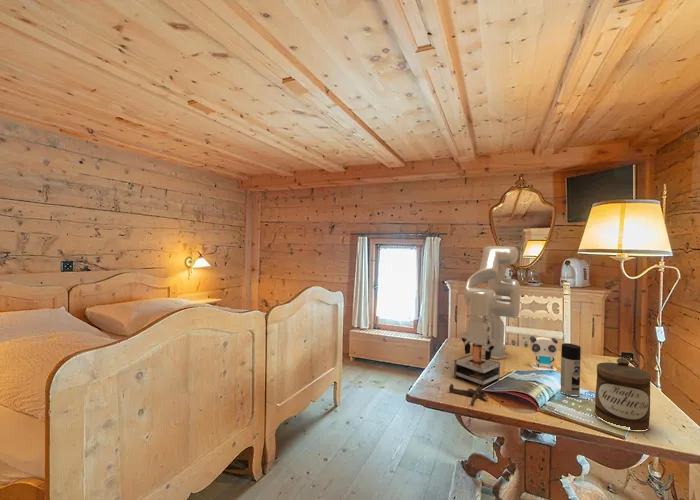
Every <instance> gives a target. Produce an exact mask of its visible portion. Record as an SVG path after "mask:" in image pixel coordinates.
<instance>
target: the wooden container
mask: <svg viewBox="0 0 700 500" xmlns="http://www.w3.org/2000/svg"><path fill="white" fill-rule="evenodd" d="M594 398H595V399H594V400H595V401H594V403H595V405H594V414H595V413H596V415H597V416H598V417H600V418H602V419H603V420H605V421H607V422H610V423H613V424H616V425H620V426H626V427H630V429H631V430H646V429H648V428H649V429H650V417H651V374H650V373H649V372H648V371H646V370H643V369H642V368H639V367H635V366H633V365H630V361H629V360H628V359H627V358H624V357H619V358H617V359H616V362H605V361H604V362H600V363H598V364H596V385H595V397H594ZM596 415H595V416H596Z"/></svg>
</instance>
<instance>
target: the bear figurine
mask: <svg viewBox="0 0 700 500" xmlns="http://www.w3.org/2000/svg"><path fill="white" fill-rule="evenodd" d="M448 389H449V393H450V394H457V395H465V396H468V397H472V400H470V404H471V405H473V404H474V403H475V401H476V399H477V398H478V397H479V398H480V400H484V401H485V400H488V399H489V398H488V396H489V395H488V394H487V393H486V391H485V390H484V389H483V390H482V388H481V384H477V386H476V388H475V389H473V388H471V387H470V388H468V389H459V388H454V384H453V383H451V384H450V385H449V388H448Z"/></svg>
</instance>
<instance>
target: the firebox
mask: <svg viewBox="0 0 700 500" xmlns="http://www.w3.org/2000/svg"><path fill="white" fill-rule="evenodd" d="M472 355H473V353H472V354H467V355H466V356H463V357H459V358H457V359H454V366H453V371H454V372H453V378H454V379H458V378H462V379H466V380H468V381H471V382H473V383H475V384H476V383H477V384H478V385H482V386H485V385H486V384H489V383H490V382H493V381H496V380H499V379H501V378H500V377H501V376H500V375H501V374H500V372H501V362H500V361H495V360H492V359H489V360H485V357H482V364H480V365H479V364H476V363H473V362H472ZM472 370H475V371H478V372H481V376H478V375H475V374H472ZM499 381H500V380H499Z"/></svg>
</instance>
